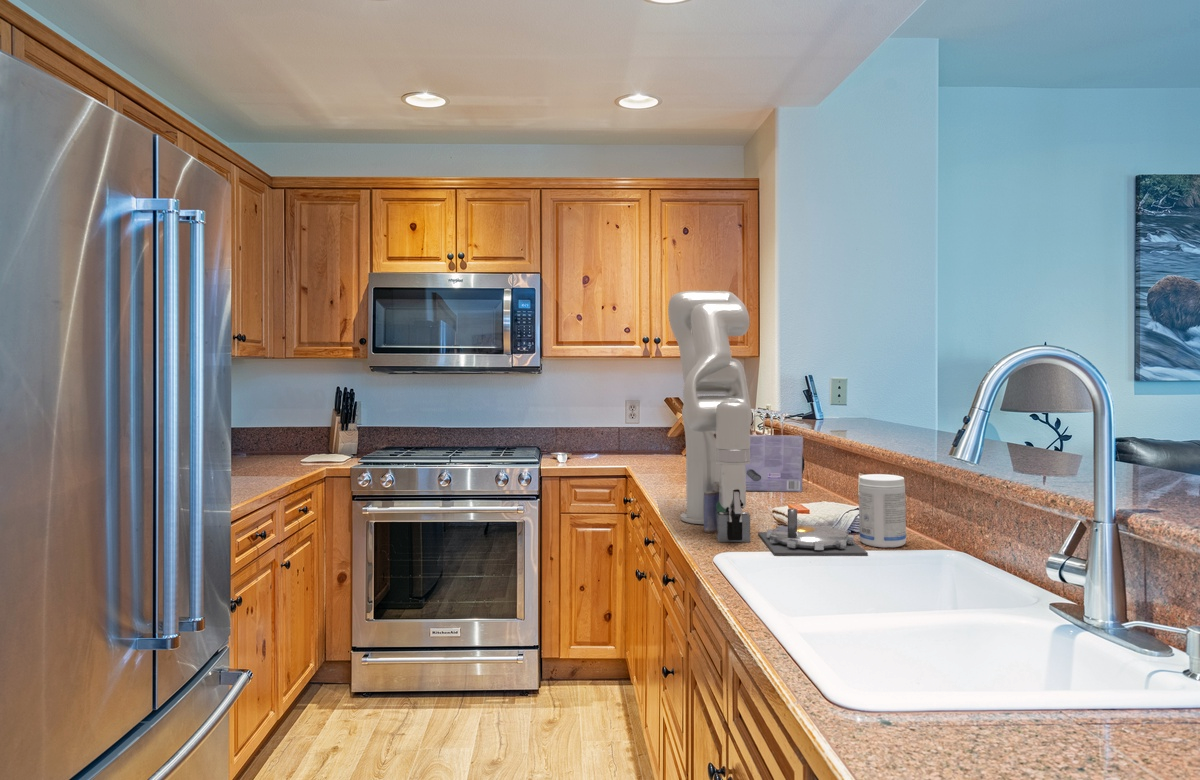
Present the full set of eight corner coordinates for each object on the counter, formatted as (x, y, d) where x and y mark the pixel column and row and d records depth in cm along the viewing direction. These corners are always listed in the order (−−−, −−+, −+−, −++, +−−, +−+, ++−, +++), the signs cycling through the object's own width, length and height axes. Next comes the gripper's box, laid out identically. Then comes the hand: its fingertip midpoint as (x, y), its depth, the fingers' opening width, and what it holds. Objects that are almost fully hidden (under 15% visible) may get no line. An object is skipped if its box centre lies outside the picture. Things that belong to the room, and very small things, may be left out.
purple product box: (803, 489, 232) (803, 433, 231) (806, 492, 227) (806, 435, 226) (741, 489, 234) (741, 433, 233) (743, 491, 229) (743, 435, 228)
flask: (710, 534, 172) (710, 485, 171) (699, 531, 174) (699, 483, 174) (736, 527, 178) (735, 480, 178) (725, 525, 181) (725, 479, 180)
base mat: (758, 534, 170) (758, 531, 170) (840, 534, 170) (840, 531, 170) (774, 555, 151) (774, 551, 151) (867, 555, 151) (867, 551, 151)
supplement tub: (906, 540, 163) (906, 474, 163) (905, 550, 155) (905, 481, 154) (860, 536, 167) (860, 472, 167) (857, 546, 158) (857, 478, 158)
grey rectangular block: (716, 538, 167) (716, 510, 167) (747, 538, 167) (747, 511, 166) (718, 542, 164) (718, 514, 163) (750, 542, 163) (750, 514, 163)
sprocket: (760, 545, 156) (760, 510, 155) (773, 528, 172) (773, 496, 172) (851, 552, 149) (851, 516, 149) (855, 533, 165) (855, 501, 165)
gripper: (712, 452, 173) (712, 529, 173) (721, 461, 156) (721, 546, 157) (744, 452, 173) (744, 529, 173) (756, 461, 156) (756, 546, 157)
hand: (733, 536), depth 165 cm, fingers closed on grey rectangular block, 3 cm apart
